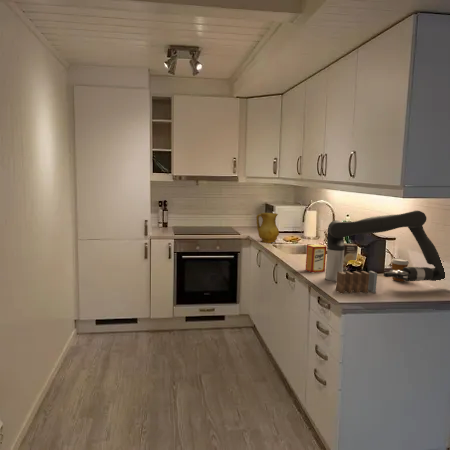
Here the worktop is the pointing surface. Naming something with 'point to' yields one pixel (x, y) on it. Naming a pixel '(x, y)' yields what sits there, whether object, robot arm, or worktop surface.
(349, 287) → the domino
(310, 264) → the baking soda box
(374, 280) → the domino
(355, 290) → the domino
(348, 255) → the coffee box
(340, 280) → the domino
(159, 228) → the worktop surface
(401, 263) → the disposable coffee cup
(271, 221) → the pitcher
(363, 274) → the domino
